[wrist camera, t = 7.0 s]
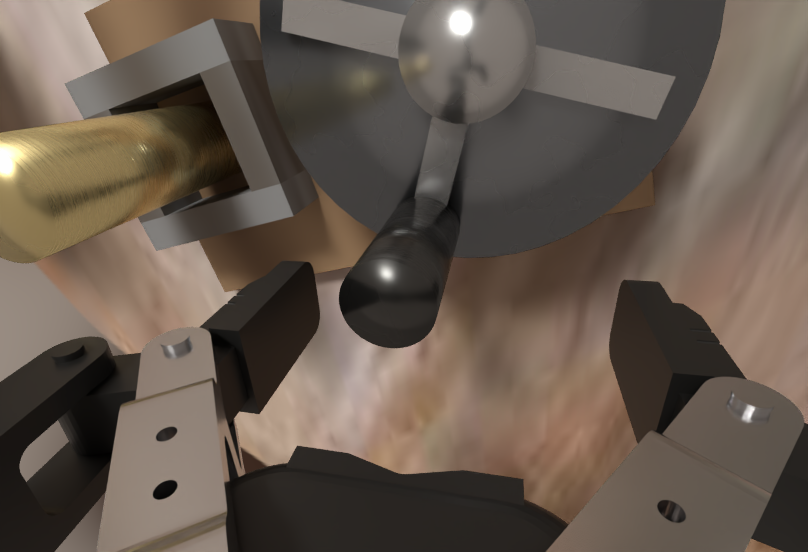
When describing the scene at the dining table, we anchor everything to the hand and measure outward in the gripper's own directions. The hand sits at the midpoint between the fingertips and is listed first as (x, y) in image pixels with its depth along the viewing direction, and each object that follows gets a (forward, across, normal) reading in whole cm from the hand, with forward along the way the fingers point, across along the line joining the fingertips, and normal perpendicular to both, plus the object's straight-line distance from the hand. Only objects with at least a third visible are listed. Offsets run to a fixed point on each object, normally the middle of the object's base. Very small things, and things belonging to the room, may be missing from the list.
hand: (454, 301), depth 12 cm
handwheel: (+7, 0, -6) cm, 9 cm away
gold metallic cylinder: (+10, +13, -2) cm, 16 cm away
